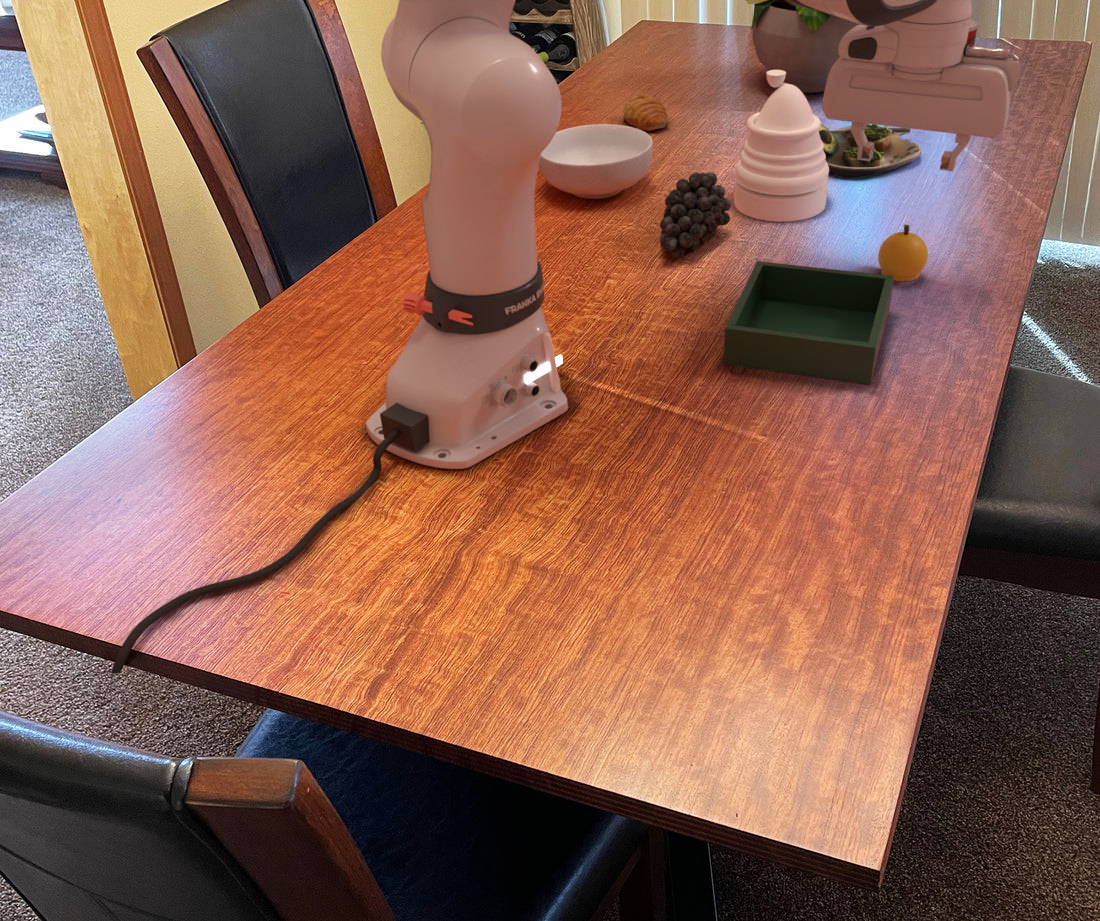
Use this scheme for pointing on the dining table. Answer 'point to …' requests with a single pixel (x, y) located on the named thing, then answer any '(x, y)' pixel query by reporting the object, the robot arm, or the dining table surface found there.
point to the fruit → (693, 213)
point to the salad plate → (885, 151)
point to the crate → (809, 322)
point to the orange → (903, 255)
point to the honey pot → (782, 159)
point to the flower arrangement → (797, 41)
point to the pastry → (645, 113)
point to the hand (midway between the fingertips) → (905, 164)
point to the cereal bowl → (596, 159)
